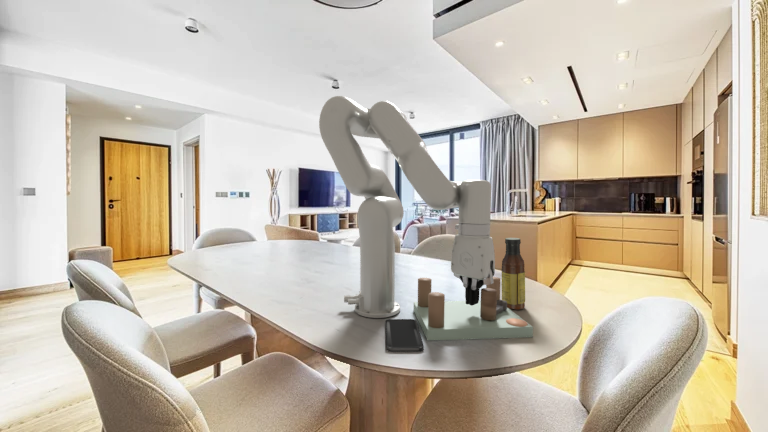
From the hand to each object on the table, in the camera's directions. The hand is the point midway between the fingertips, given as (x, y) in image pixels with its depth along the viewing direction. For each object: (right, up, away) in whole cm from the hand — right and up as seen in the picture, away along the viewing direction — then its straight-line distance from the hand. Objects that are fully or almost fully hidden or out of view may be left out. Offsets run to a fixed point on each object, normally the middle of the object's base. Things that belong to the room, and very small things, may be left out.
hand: (472, 303), depth 77 cm
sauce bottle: (+15, -5, +12) cm, 20 cm away
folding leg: (+5, -2, -1) cm, 6 cm away
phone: (-18, -6, -7) cm, 20 cm away
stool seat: (-1, -5, +1) cm, 5 cm away
